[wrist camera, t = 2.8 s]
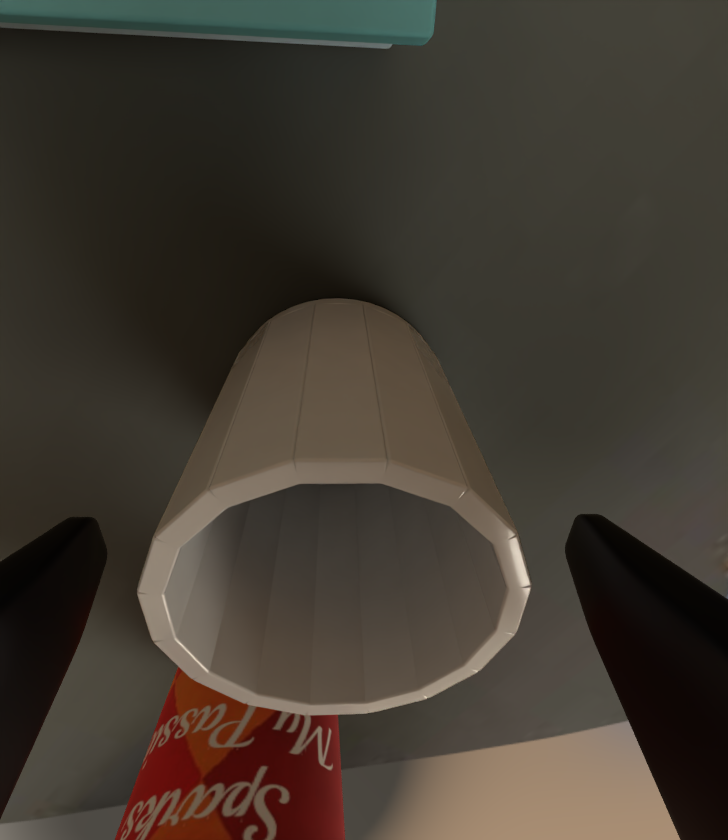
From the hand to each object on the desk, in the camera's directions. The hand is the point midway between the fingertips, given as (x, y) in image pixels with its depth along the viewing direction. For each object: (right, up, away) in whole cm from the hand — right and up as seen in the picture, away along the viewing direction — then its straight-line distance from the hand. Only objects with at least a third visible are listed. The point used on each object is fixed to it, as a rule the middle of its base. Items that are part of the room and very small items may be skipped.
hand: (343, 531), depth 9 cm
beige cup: (0, +3, +4) cm, 5 cm away
